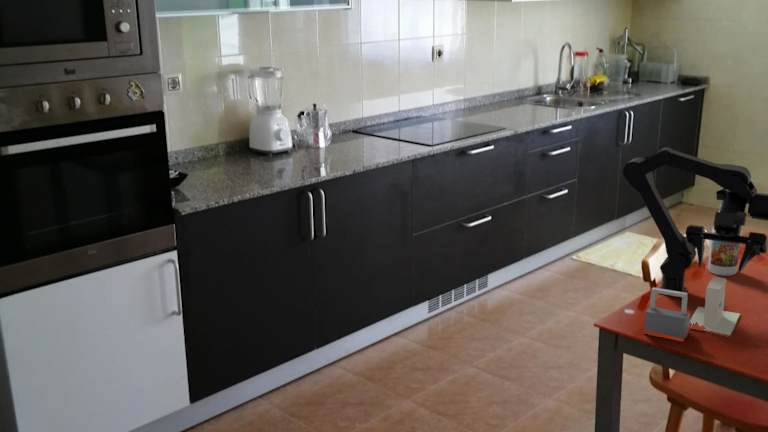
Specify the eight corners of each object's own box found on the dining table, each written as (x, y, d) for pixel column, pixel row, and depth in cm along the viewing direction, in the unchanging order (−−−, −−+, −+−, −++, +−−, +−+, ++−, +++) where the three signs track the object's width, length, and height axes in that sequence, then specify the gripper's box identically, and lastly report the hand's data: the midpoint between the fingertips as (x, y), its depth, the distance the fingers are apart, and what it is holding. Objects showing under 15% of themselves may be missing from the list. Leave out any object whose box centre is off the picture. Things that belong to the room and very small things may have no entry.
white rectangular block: (709, 313, 200) (713, 276, 197) (722, 315, 198) (726, 278, 195) (703, 325, 193) (706, 287, 191) (716, 327, 192) (720, 289, 189)
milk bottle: (702, 269, 232) (707, 204, 226) (722, 265, 234) (728, 200, 229) (721, 278, 225) (727, 210, 219) (742, 273, 227) (749, 207, 222)
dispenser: (650, 325, 196) (653, 283, 193) (688, 332, 191) (692, 289, 188) (644, 334, 191) (647, 291, 188) (683, 342, 186) (686, 298, 183)
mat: (698, 308, 205) (698, 306, 204) (739, 315, 199) (740, 313, 199) (686, 328, 193) (686, 326, 193) (730, 336, 188) (730, 334, 188)
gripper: (689, 194, 200) (676, 248, 194) (770, 202, 190) (758, 259, 184) (694, 216, 209) (681, 268, 203) (772, 225, 199) (761, 280, 193)
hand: (719, 268), depth 196 cm, fingers open, 9 cm apart
